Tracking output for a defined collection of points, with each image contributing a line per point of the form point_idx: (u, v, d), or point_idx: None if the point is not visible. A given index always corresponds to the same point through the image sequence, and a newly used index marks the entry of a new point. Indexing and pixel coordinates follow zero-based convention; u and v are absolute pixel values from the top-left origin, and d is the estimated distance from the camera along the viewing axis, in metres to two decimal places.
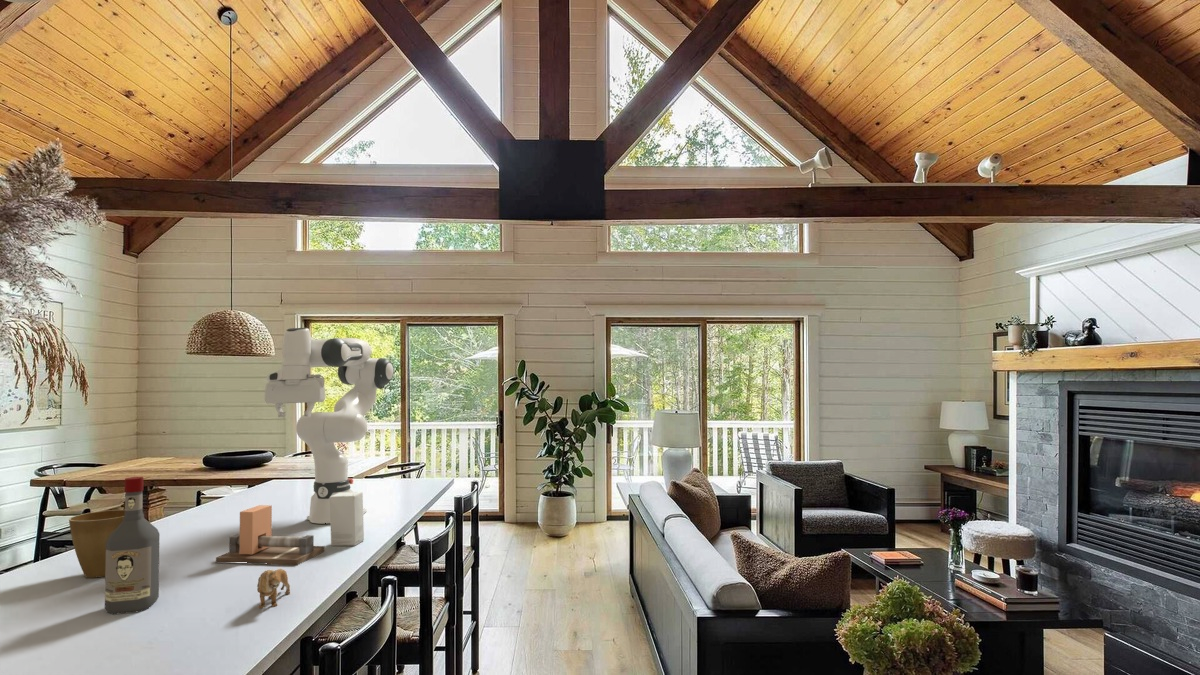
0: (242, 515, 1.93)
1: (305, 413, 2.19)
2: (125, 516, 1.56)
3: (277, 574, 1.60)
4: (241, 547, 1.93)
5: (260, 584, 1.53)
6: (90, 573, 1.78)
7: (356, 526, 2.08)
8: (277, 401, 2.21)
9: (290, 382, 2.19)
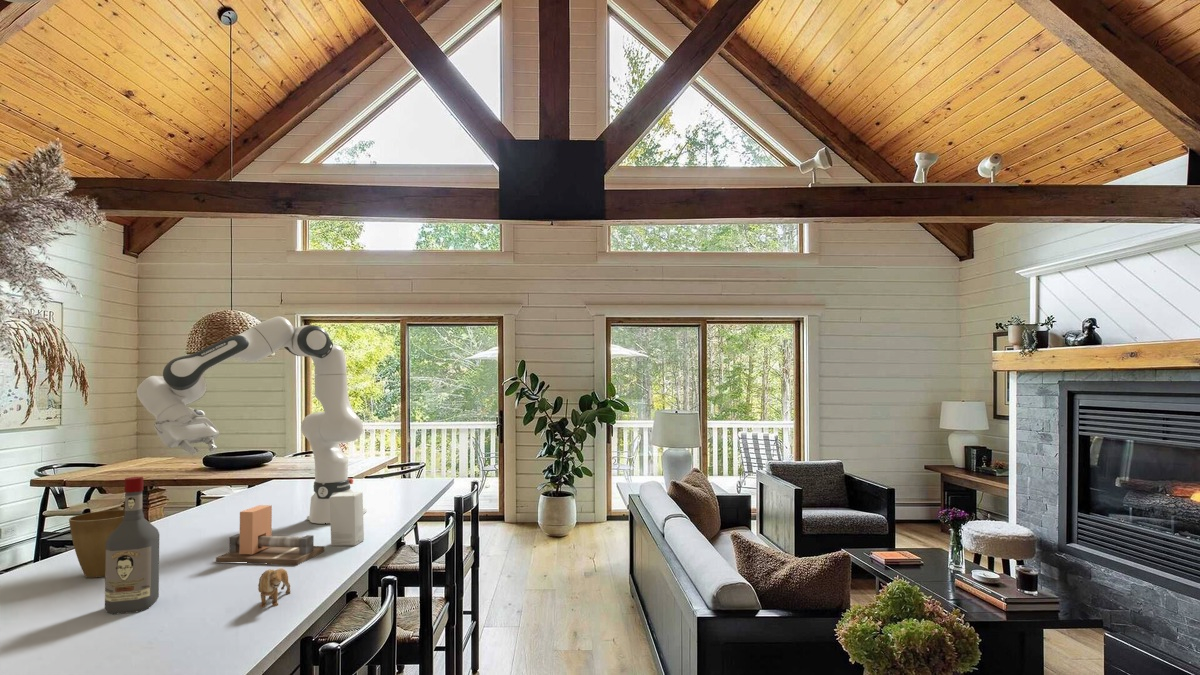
0: (242, 515, 1.93)
1: None
2: (125, 516, 1.56)
3: (278, 574, 1.60)
4: (241, 547, 1.93)
5: (261, 584, 1.53)
6: (90, 572, 1.78)
7: (356, 526, 2.08)
8: None
9: None
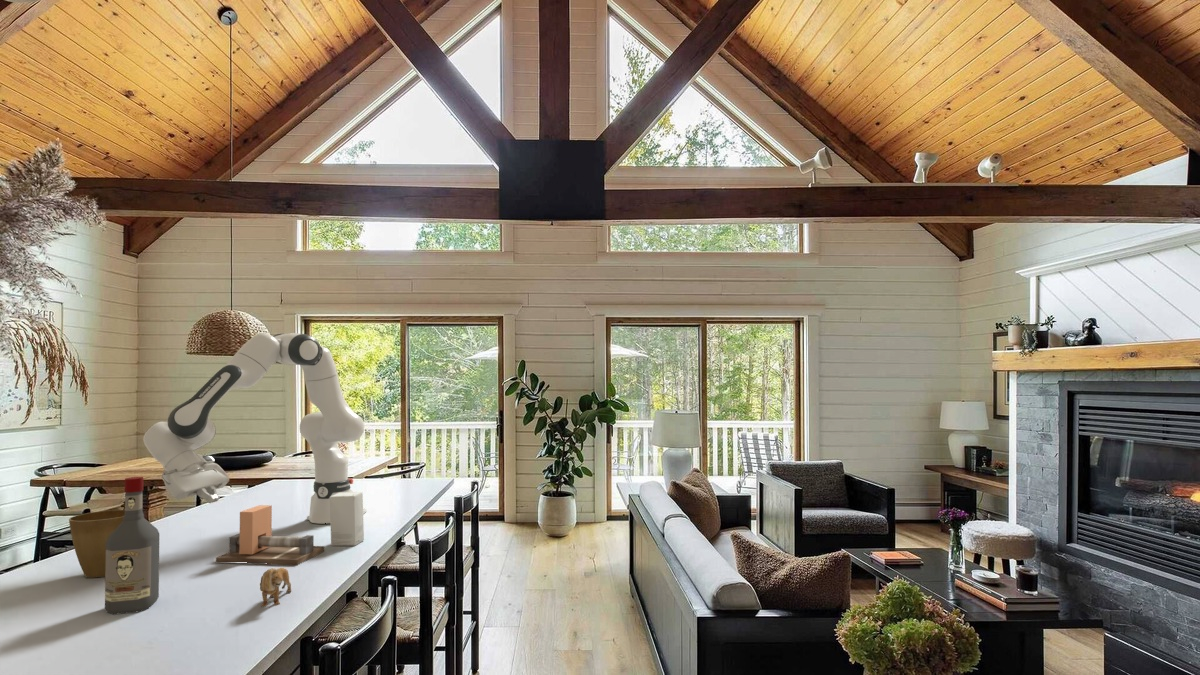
0: (242, 515, 1.93)
1: None
2: (125, 516, 1.56)
3: (279, 573, 1.61)
4: (241, 547, 1.93)
5: (263, 583, 1.54)
6: (90, 573, 1.78)
7: (356, 526, 2.08)
8: None
9: None
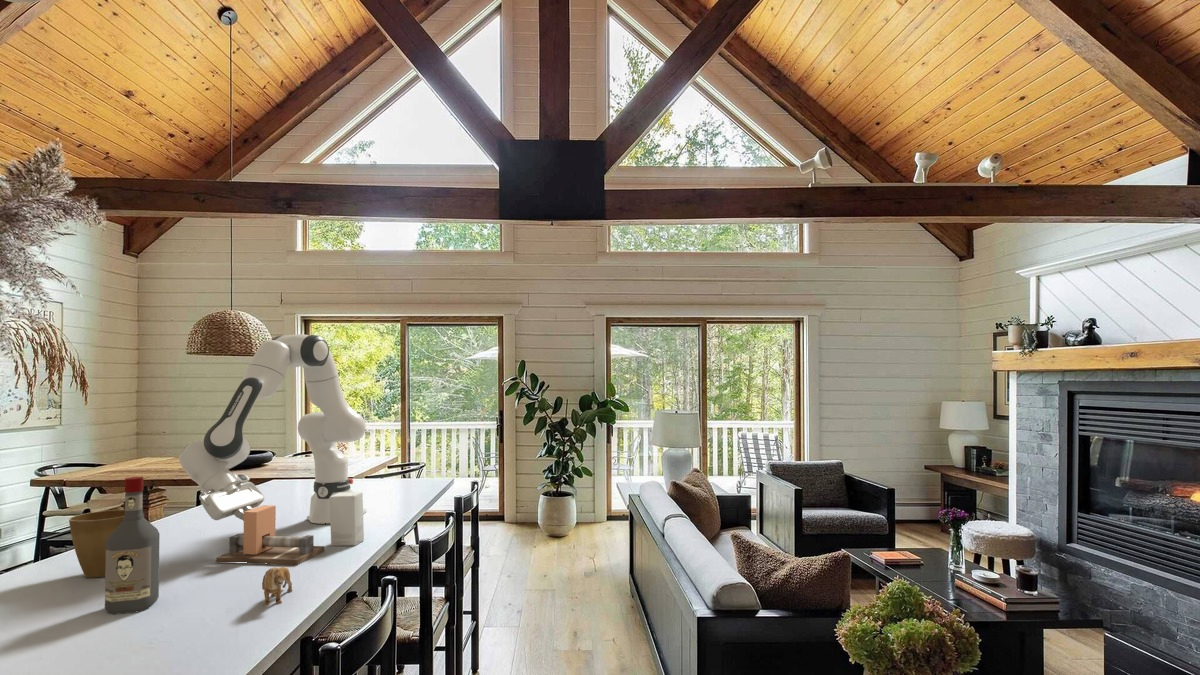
0: (246, 515, 1.93)
1: None
2: (125, 516, 1.56)
3: (280, 572, 1.62)
4: (245, 547, 1.92)
5: (266, 581, 1.54)
6: (90, 572, 1.78)
7: (356, 526, 2.08)
8: None
9: None
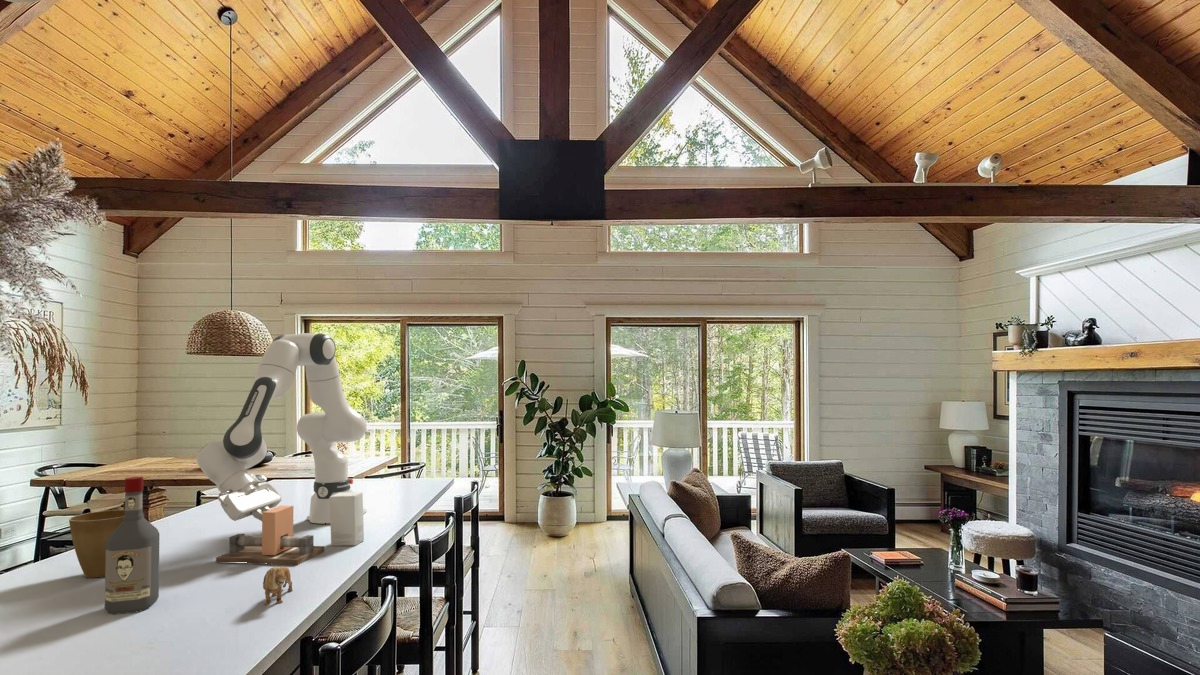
0: (264, 515, 1.92)
1: None
2: (125, 516, 1.56)
3: (281, 571, 1.62)
4: (263, 548, 1.92)
5: (267, 581, 1.55)
6: (90, 573, 1.78)
7: (356, 526, 2.08)
8: None
9: None
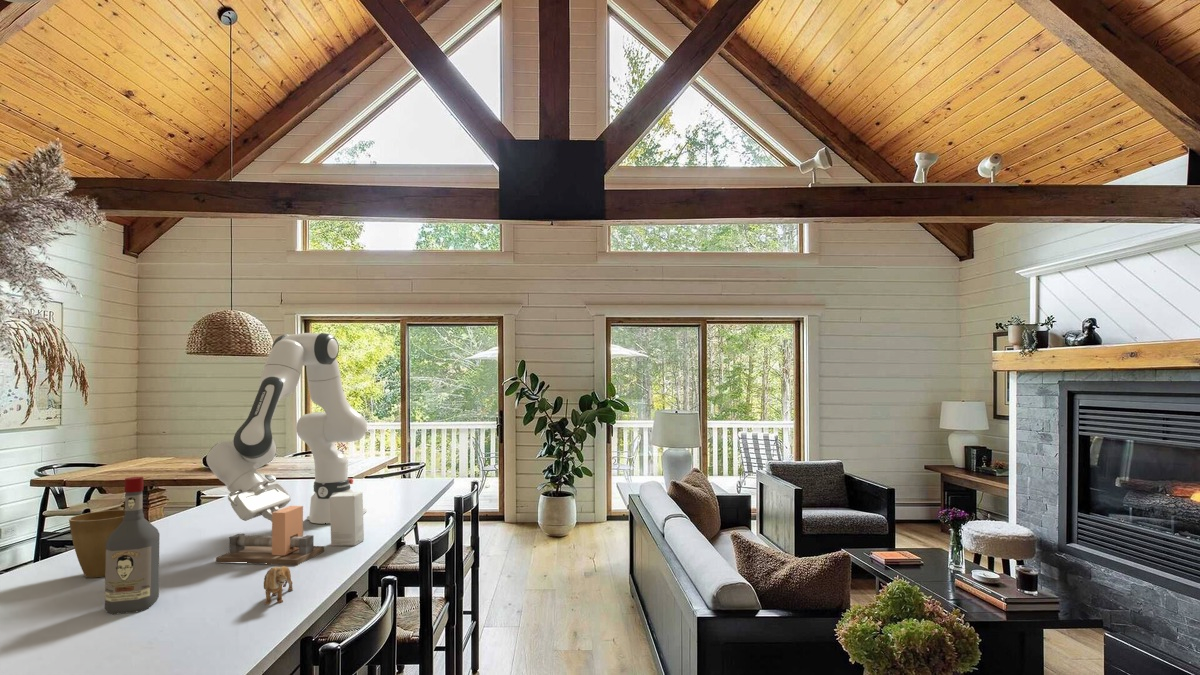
0: (274, 516, 1.92)
1: None
2: (125, 516, 1.56)
3: (281, 571, 1.62)
4: (273, 548, 1.91)
5: (267, 581, 1.55)
6: (90, 572, 1.78)
7: (356, 526, 2.08)
8: None
9: None
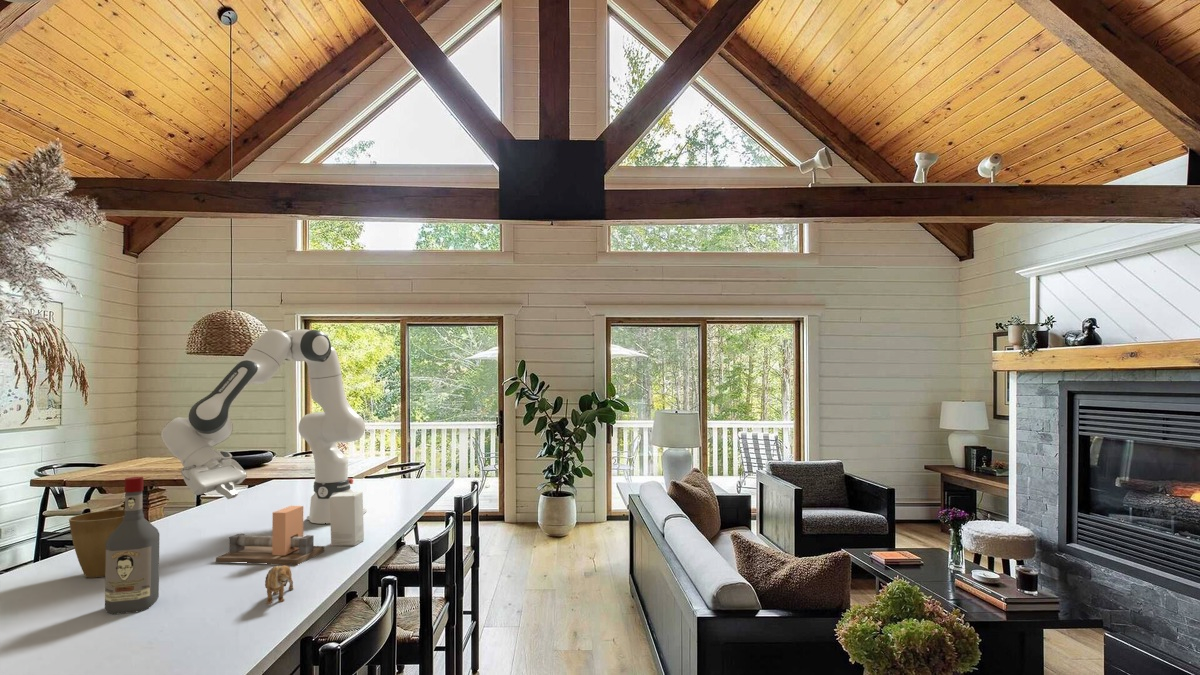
0: (275, 516, 1.92)
1: None
2: (125, 516, 1.56)
3: (282, 570, 1.63)
4: (274, 548, 1.91)
5: (269, 580, 1.55)
6: (90, 572, 1.78)
7: (356, 526, 2.08)
8: None
9: None
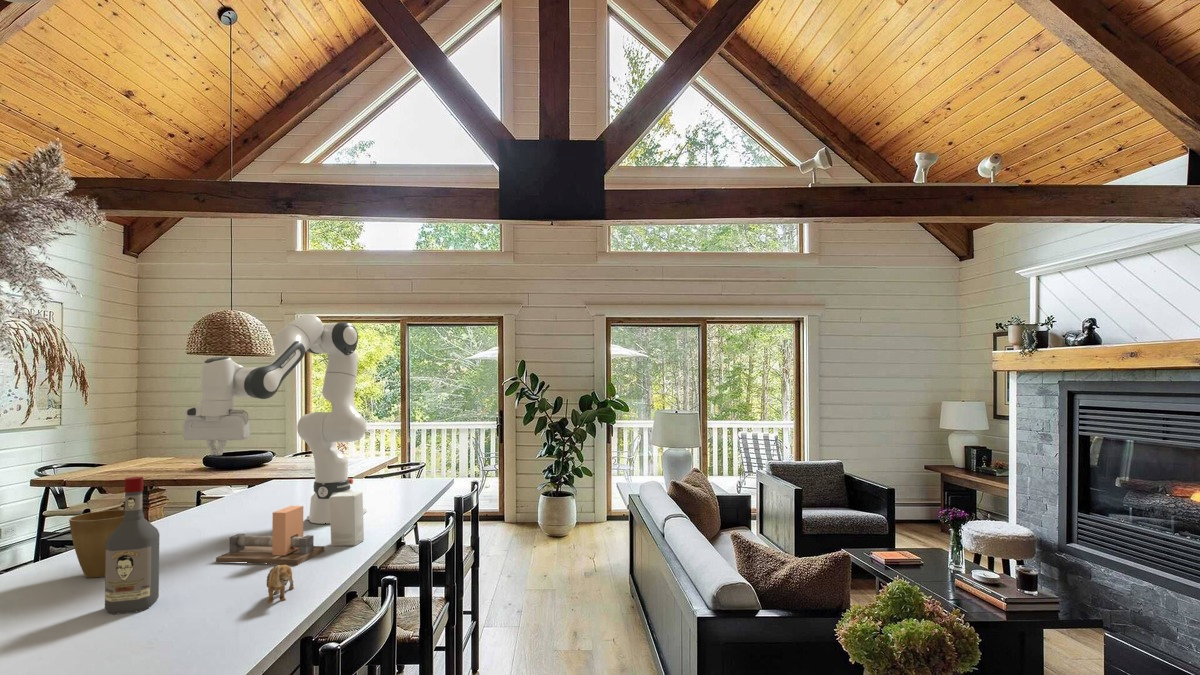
0: (275, 516, 1.92)
1: (216, 452, 2.03)
2: (125, 516, 1.56)
3: None
4: (274, 548, 1.91)
5: (271, 579, 1.56)
6: (90, 572, 1.78)
7: (356, 526, 2.08)
8: (197, 438, 2.03)
9: (210, 418, 2.01)
